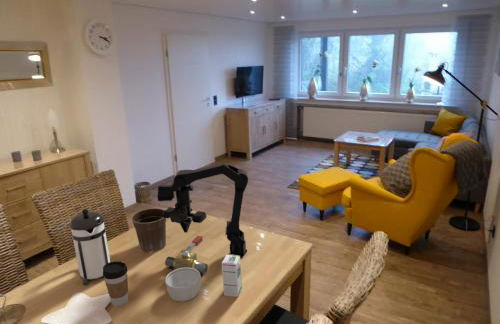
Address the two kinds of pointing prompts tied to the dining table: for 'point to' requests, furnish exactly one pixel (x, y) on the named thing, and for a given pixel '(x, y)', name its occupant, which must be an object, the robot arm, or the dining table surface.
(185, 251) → the valve lever
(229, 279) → the syrup box
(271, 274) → the dining table surface
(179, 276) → the ramekin
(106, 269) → the coffee cup
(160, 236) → the plant pot
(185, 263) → the valve body
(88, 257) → the coffee press
